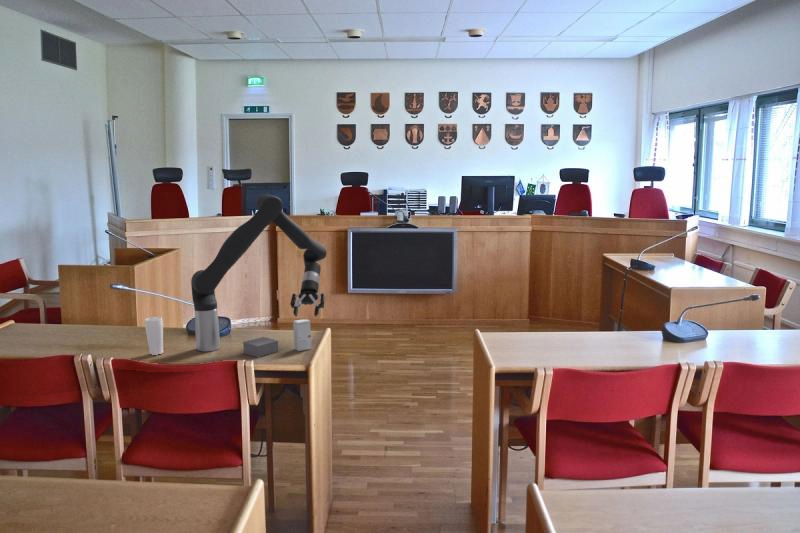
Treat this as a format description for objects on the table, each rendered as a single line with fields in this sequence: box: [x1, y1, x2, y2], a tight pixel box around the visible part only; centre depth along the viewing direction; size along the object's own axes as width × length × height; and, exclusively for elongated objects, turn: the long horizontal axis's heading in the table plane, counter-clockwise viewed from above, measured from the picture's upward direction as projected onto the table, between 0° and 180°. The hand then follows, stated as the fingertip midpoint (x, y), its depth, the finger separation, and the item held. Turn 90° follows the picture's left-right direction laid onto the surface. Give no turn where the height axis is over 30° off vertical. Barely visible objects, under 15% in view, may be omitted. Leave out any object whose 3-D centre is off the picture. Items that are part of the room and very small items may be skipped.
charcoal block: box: [242, 336, 279, 358], centre depth 268 cm, size 10×10×5 cm
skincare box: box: [292, 318, 312, 352], centre depth 270 cm, size 6×4×12 cm
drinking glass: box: [144, 316, 164, 356], centre depth 268 cm, size 7×7×15 cm
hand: (305, 315), depth 277 cm, fingers open, 8 cm apart
